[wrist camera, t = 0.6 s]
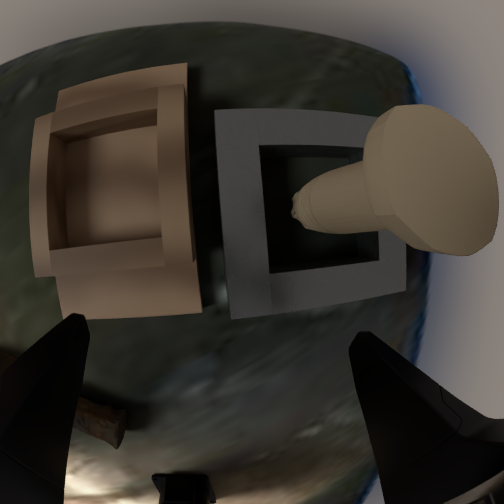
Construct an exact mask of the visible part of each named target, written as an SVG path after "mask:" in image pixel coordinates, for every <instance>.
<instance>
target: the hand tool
mask: <svg viewBox="0 0 504 504" xmlns="http://www.w3.org/2000/svg"><path fill="white" fill-rule="evenodd" d="M15 360H16V358H15V357H13V356H11V355H9V354H7V353H4V352H1V351H0V374H1V373H2V372H3V371H4V370H5V369H6V368H7V367H8V366H9V365H11V364H12V363H13V362H14V361H15ZM126 419H127V416H126V410H125V409H121V410H115V409H114V408H113V407H112V406H111V405H110V404H109V405H106V406H103V405H100V404H97V403H95V402H92V401H90V400H88V399H85V398H82V397H79V399H78V403H77V408H76V413H75V417H74V422H73V428H75V429H78V430H80V431H82V432H84V433H87V434H88V435H91V436H94V437H96V438H98V439H101V440H104V441H106V442H107V443H109V444H110V445H112V446H113V447H114V448H115V449H118V448H119V446H120V444H121V442H122V439H123V437H124V433H125V429H126Z"/></svg>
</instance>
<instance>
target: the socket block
mask: <svg viewBox="0 0 504 504" xmlns="http://www.w3.org/2000/svg"><path fill="white" fill-rule="evenodd" d="M377 119H378V118H377V117H371V116H364V115H357V114H348V113H339V112H329V111H317V110H301V109H223V110H214V142H215V158H216V173H217V187H218V200H219V213H220V225H221V237H222V248H223V259H224V270H225V280H226V290H227V299H228V307H229V312H230V316H231V319H239V318H248V317H256V316H264V315H271V314H279V313H286V312H293V311H299V310H306V309H312V308H318V307H324V306H330V305H336V304H341V303H347V302H352V301H357V300H363V299H368V298H373V297H378V296H382V295H387V294H392V293H396V292H401V291H405V290H406V242H404V241H403V240H401V239H400V238H399V237H397V236H396V235H395V234H394V233H392V232H391V231H390V230H383V231H370V232H359V233H356V239H357V256H356V257H347V258H339V259H330V260H322V261H313V262H304V263H295V264H285V265H276V266H269V262H268V249H267V236H266V224H265V212H264V200H263V188H262V177H261V166H260V158H271V157H328V158H349V164H354V163H357V162H360V161H363V154H364V145H365V141H366V137H367V134H368V132H369V130H370V128H371V127H372V125H373V124H374V122H375V121H376V120H377Z"/></svg>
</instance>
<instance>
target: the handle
mask: <svg viewBox="0 0 504 504" xmlns="http://www.w3.org/2000/svg"><path fill="white" fill-rule="evenodd" d="M292 200H293V208H292V211H291V215H292V217H293V218H296V219H297V220H299V221H300V222H301V223H302V224H303V227H304V228H306V229H310V230H315V231H319V232H325V233H334V234H349V233H359V232H370V231H383V230H390V231H391V232H392V233H394V234H395V235H396V236H397V237H399V238H400V239H401V240H403V241H404V242H406V243H407V244H408V245H410V246H411V247H413V248H415V249H418V250H423V251H428V252H435V253H441V254H448V255H456V256H469V255H472V254H474V253H476V252H478V251H479V250H480V249H482V248H483V247H485V246H486V245H487V244H488V243H489V242H491V241H492V239H493V236H494V234H495V230H496V227H497V220H498V210H499V195H498V185H497V179H496V174H495V170H494V167H493V163H492V161H491V158H490V157H489V155H488V154H487V152H486V151H485V149H484V148H483V146H482V145H481V144H480V142H479V141H478V139H477V138H476V137H475V135H474V134H473V133H472V132H471V131H470V130H469V129H468V127H466V126H465V125H464V124H463V123H461V122H460V121H459V120H457V119H456V118H454V117H452V116H451V115H449V114H447V113H446V112H444V111H442V110H440V109H438V108H436V107H434V106H429V105H404V106H395V107H394V108H392V109H390V110H389V111H387V112H386V113H384V114H383V115H381V116H380V117H379V118H378V119H377V120H376V121H375V122H374V124H373V125H372V127H371V128H370V130H369V132H368V134H367V137H366V141H365V145H364V154H363V161H360V162H357V163H354V164H350V165H347V166H344V167H341V168H338V169H334V170H331V171H329V172H326V173H324V174H322V175H320V176H318V177H316V178H315V179H313V180H311V181H310V182H309V183H307V184H306V185H305V186H304V187H303V188H302V189H301V190H300V191H299V192H297V193H295V195H294V196H293V198H292Z"/></svg>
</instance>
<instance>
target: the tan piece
mask: <svg viewBox="0 0 504 504" xmlns="http://www.w3.org/2000/svg"><path fill="white" fill-rule="evenodd" d="M29 215H30V235H31V247H32V257H33V265H34V273H35V277H47V276H55V277H56V283H57V289H58V295H59V300H60V305H61V310H62V315H63V319H65V318H66V317H67V316H69V315H70V314H71V313H78V314H83V315H84V316H85V318H86V319H109V318H132V317H149V316H164V315H178V314H190V313H201V312H202V309H203V307H202V299H201V291H200V282H199V273H198V264H197V254H196V243H195V232H194V221H193V208H192V193H191V177H190V157H189V131H188V67H187V63H181V64H173V65H165V66H158V67H152V68H146V69H140V70H135V71H130V72H125V73H120V74H116V75H112V76H108V77H104V78H100V79H96V80H92V81H89V82H86V83H82V84H79V85H76V86H73V87H70V88H67V89H64V90H61V91H59V94H58V99H57V105H56V111H55V112H52V113H50V114H47V115H44V116H41V117H39V118H36V120H35V126H34V133H33V142H32V151H31V163H30V183H29Z"/></svg>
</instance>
